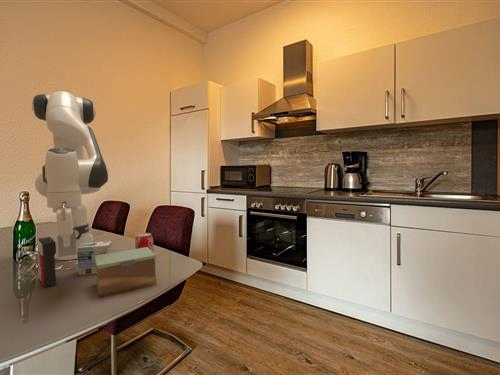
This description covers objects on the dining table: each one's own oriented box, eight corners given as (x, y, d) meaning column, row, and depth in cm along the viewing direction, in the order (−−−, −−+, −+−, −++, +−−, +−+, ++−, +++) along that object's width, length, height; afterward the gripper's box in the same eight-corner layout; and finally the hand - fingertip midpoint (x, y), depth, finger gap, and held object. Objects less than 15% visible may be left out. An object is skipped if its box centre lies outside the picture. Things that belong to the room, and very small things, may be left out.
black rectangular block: (38, 279, 98) (35, 238, 97) (52, 275, 101) (50, 236, 100) (43, 288, 91) (39, 244, 89) (58, 284, 94) (55, 241, 92)
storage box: (96, 283, 94) (95, 258, 93) (148, 272, 103) (147, 249, 102) (99, 297, 83) (97, 268, 83) (155, 283, 93) (154, 258, 92)
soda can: (147, 265, 110) (146, 236, 109) (132, 264, 112) (131, 236, 111) (157, 260, 117) (156, 232, 116) (142, 259, 119) (141, 232, 118)
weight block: (59, 253, 86) (58, 231, 86) (76, 250, 89) (75, 229, 88) (58, 257, 82) (57, 234, 82) (76, 254, 85) (75, 232, 84)
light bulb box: (77, 275, 101) (76, 247, 100) (83, 269, 107) (82, 242, 107) (109, 272, 104) (107, 245, 103) (113, 266, 110) (111, 240, 110)
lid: (94, 260, 93) (94, 255, 93) (147, 251, 102) (147, 246, 102) (97, 271, 82) (96, 266, 82) (156, 260, 91) (156, 255, 91)
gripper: (76, 203, 77) (79, 250, 78) (76, 196, 94) (79, 235, 95) (49, 205, 74) (52, 254, 75) (54, 197, 91) (57, 238, 92)
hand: (67, 243), depth 85 cm, fingers closed on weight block, 4 cm apart
